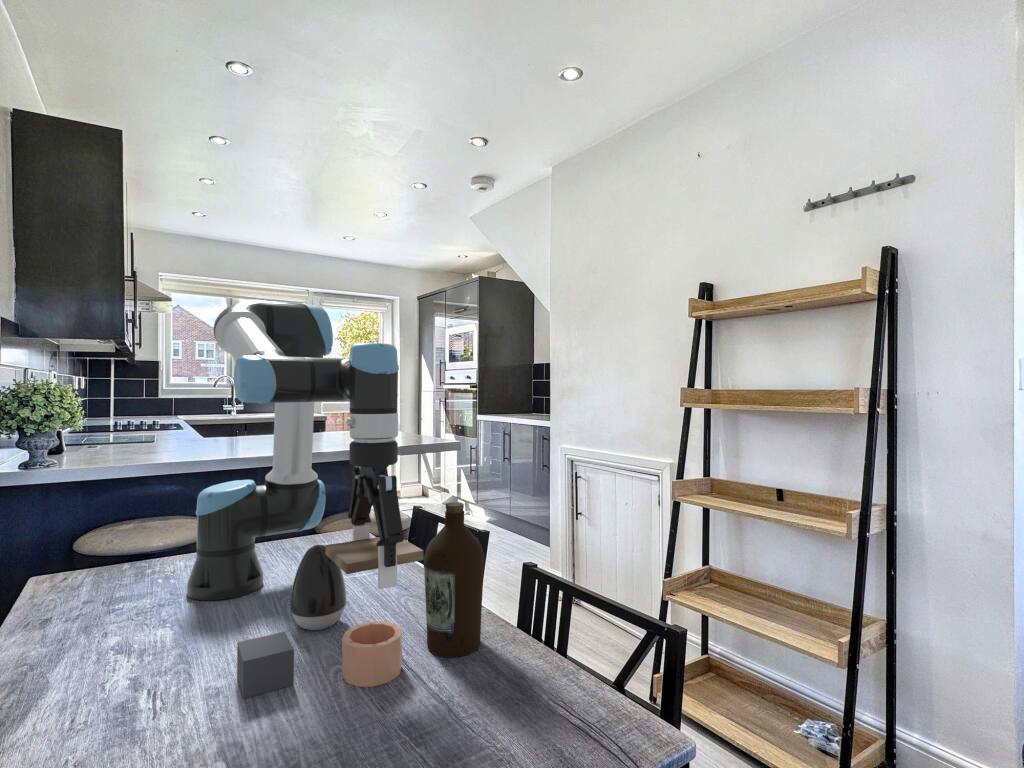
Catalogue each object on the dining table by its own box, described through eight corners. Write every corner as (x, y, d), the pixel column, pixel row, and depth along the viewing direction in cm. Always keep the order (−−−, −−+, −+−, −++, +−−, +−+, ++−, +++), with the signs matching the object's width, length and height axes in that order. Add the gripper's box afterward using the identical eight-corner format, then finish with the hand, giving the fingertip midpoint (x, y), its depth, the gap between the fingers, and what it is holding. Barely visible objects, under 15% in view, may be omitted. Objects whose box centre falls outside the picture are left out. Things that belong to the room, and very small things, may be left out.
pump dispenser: (329, 639, 99) (330, 555, 99) (278, 633, 101) (278, 551, 101) (356, 615, 109) (357, 539, 109) (309, 611, 111) (309, 536, 111)
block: (237, 677, 86) (237, 642, 86) (284, 664, 90) (284, 631, 90) (243, 699, 80) (243, 661, 80) (293, 684, 84) (293, 649, 84)
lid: (325, 554, 90) (325, 545, 90) (395, 542, 96) (395, 534, 96) (346, 574, 80) (346, 563, 80) (423, 560, 86) (423, 550, 86)
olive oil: (451, 626, 105) (452, 495, 104) (495, 641, 98) (496, 502, 98) (410, 647, 96) (411, 505, 96) (456, 666, 90) (457, 514, 90)
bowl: (336, 666, 89) (336, 629, 89) (389, 652, 94) (389, 617, 94) (352, 692, 82) (353, 652, 82) (409, 675, 87) (409, 637, 87)
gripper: (329, 435, 96) (329, 558, 96) (376, 448, 76) (376, 604, 76) (371, 433, 100) (371, 551, 100) (426, 445, 80) (426, 593, 80)
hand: (373, 574), depth 88 cm, fingers closed on lid, 12 cm apart
